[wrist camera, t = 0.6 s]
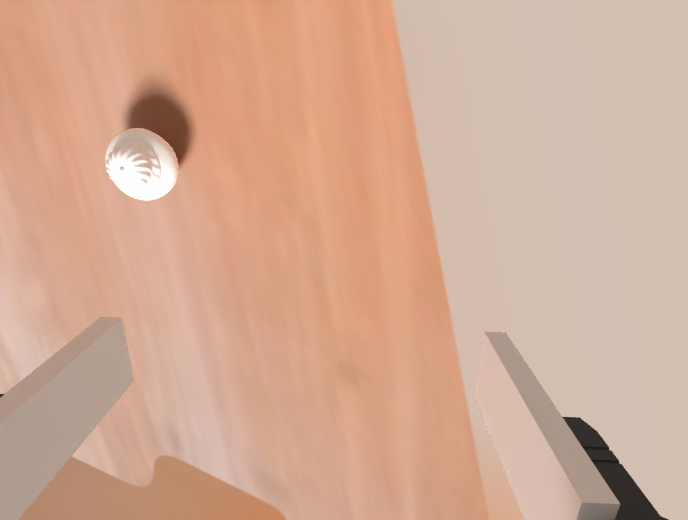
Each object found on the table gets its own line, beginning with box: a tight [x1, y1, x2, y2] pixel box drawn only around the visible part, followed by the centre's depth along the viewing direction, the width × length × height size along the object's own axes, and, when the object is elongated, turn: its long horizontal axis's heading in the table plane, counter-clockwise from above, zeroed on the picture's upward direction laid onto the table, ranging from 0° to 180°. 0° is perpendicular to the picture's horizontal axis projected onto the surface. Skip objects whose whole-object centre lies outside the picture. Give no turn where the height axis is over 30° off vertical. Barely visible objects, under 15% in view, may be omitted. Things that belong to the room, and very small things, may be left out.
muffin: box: [105, 128, 179, 200], centre depth 35 cm, size 6×6×7 cm
